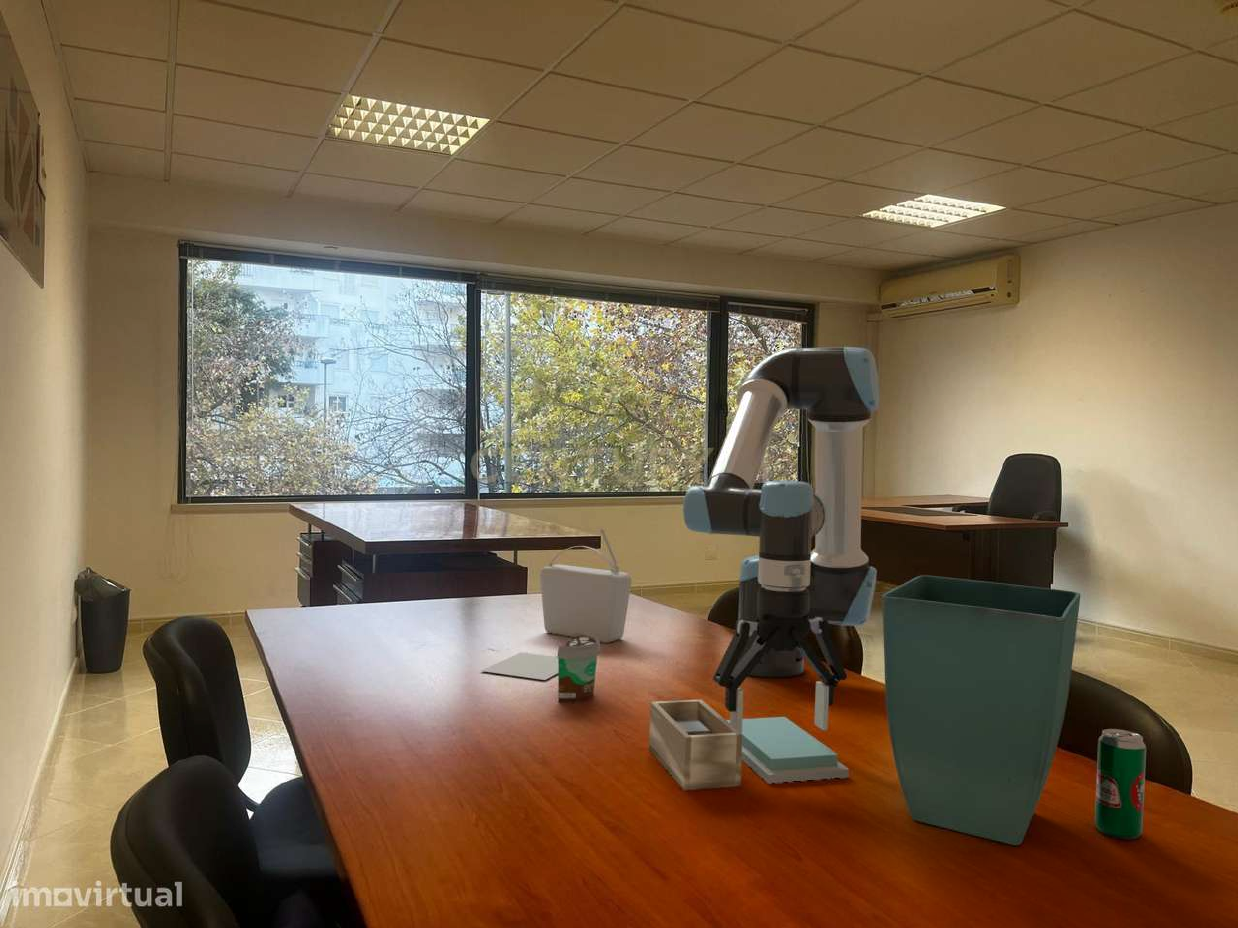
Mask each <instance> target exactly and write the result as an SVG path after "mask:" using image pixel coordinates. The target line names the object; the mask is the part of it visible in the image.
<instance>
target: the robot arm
mask: <svg viewBox="0 0 1238 928" xmlns="http://www.w3.org/2000/svg"><path fill="white" fill-rule="evenodd" d="M740 383H741V384H740V385H739V388H738V390H737V392H736V398H735V399H736V405H737V407H736V410H735V412H734V415H733V418H732V420H731V422H730V424H729V428H728V429H727V430H728V431H727V433H726V436H724V437H725V438H724V440H723V442H722V446H721V448H720V450H719V453H718V455H717V457H716V459H715V463H714V465H713V468H712V470H711V473H710V475H709V478H708V480H707V483H706V485H696V486H691V487H690V488H688V489H687V491H686V493H685V495H684V498H683V505H682V507H683V508H682V511H683V512H682V513H683V515H682V516H683V520H684V524H685V526H686V528H687V530H690V531H692V532H696V533H697V532H698V533H704V534H709V535H727V536H729V535H730V536H747V537H749V536H750V537H757V538H758V537H759V543H758V544H759V548H758V555H754V556H753V555H751V556H748V557H745V559H743V561H742V562H741V565H740V572H739V579H738V583H739V585H738V586H739V587H738V615H737V616H738V619H737V620H736V622H735V628H734V634H733V636H732V638H731V641H730V642H729V644H728V646H727V648H726V650H725V652H724V654H723V656H722V658H721V660H720V663H719V665H718V667H717V669H716V671H715V672H714V674H713V677H712V679H713V681H714V682H715V684H717V685H718V686H720V687H724V688H725V689H724V690H725V692H724V693H725V694H724V696H725V697H724V698H725V699H724V706H725V707H724V708H725V709H726V710H727V711H728V712H729V713H730V716H729V717H730V718H729V720H730V724H731V725H732V726H733V727H734V728H736V729H737V730H738V731H739V732H740V733H742V719H743V716H744V715H743V713H744V712H743V710H744V690H743V689H741V688H740V686H741V685H742V684H743V683H744V682H745V680H746V679H747V678H748V676H753V677H761V678H788V677H789V678H790V677H795V676H798V675H801V674H802V673H804V665H805V664H804V663H805V662H804V660H805V661H807V663H808V664H809V665H810V667H811V668H812V670H813V671H814V672H815V673H816V674H817V676H818V677H819V678H820V679H821V681H815V695H814V697H815V699H814V700H815V701H814V705H815V706H814V722H813V723H814V726H816V727H818V728H819V729H821V730H822V731H828V727H829V726H828V724H829V723H828V722H829V707H831V706H833V704H834V695H835V688H836V687H837V686H838V685H839V681H845V680H846V679H847V678H848V677H847V676H848V675H847V673H846V670H845V668H844V665H843V663H842V660H841V659H840V656H839V654H838V651H837V649H836V647H835V644H834V642H833V639H832V638H831V635H830V627H829V626H830V625H837V626H841V627H844V626H853V627H861V626H864V625H865V624H866V622H867V621H868V620H869V617H870V613H871V611H872V610H871V609H872V604H873V601H874V594H875V590H876V583H877V573H878V570H877V568H876V567H873V566H869V556H868V555H867V554H866V553H865V552H864V551H863V550H862V548H861V547H862V546H861V545H862V543H861V539H862V536H861V535H862V534H861V533H862V532H861V531H862V529H861V528H862V467H863V466H862V465H863V464H862V462H863V461H862V459H863V457H862V455H863V450H862V449H863V446H862V445H863V428H864V426H865V425H867V424H868V423H869V422H871V419H872V418H871V416H872V414H871V412H875V411H877V410H878V409H879V407H880V401H881V400H880V381H879V372H878V368H877V363H876V360H875V357H874V354H873V353H872V352H871V351H870V349H868V348H865V347H864V348H863V347H851V346H834V347H789V348H786V349H781V350H779V351H776V352H773V353H771V354H770V355H768V356H767V357H765V358H764V359H762V360H761V361H759V363H757V364H756V365H755V366H754V367H753V368H752V369H751V370H750V371H749V372H748V373H747V374H746V375H745V377H744V378H743V379H742V381H741V382H740ZM787 410H807V421H808V422H810V424H811V425H812V426H813V427H814V429H815V492H814V490H813V486H812V485H811V484H810V483H809V482H805V481H796V480H793V481H792V480H769V481H768V480H767V481H765V482H764V483H762V486H761V489H757V488H756V489H755V488H754V486H755V485H756V484H755V483H756V480H757V479H758V475H759V472H760V471H761V470H760V469H761V467H762V463H763V461H764V458H765V455H766V452H767V450H768V446H769V444H770V440H771V437H772V434H773V431H774V429H775V427H776V423H777V420H779V419H780V418H782V416H784V415H785V413H786V411H787ZM813 537H815V543H814V544H815V546H814V549H812V538H813ZM810 630H811V632H812V633H813V634H814V635H815V638H816V640H817V643H818V645H819V647H820V650H821V651H822V654H823V656H824V659H825V661H826V663H827V666H828V668H829V669H828V668H827V666H826V665H825V664H824V663H823V661H822V660H821V659H820V657H819V656H818V654H816V652H815V651H814V650H813V647H812V645H811V644H810V643H809V642H808V640H807V639H806V638H805V637H806V636H807V635H808V633H809V632H810Z"/></svg>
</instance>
